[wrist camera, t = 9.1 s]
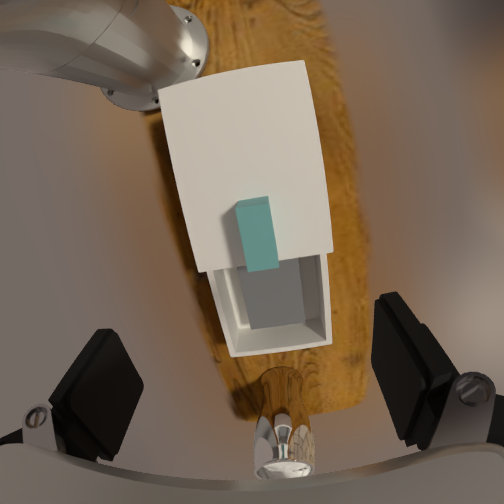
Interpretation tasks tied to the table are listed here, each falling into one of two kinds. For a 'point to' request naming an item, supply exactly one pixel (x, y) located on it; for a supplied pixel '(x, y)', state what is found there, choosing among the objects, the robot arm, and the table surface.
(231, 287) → the mailer box
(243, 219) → the box lid
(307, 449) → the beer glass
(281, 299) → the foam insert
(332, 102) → the table surface
